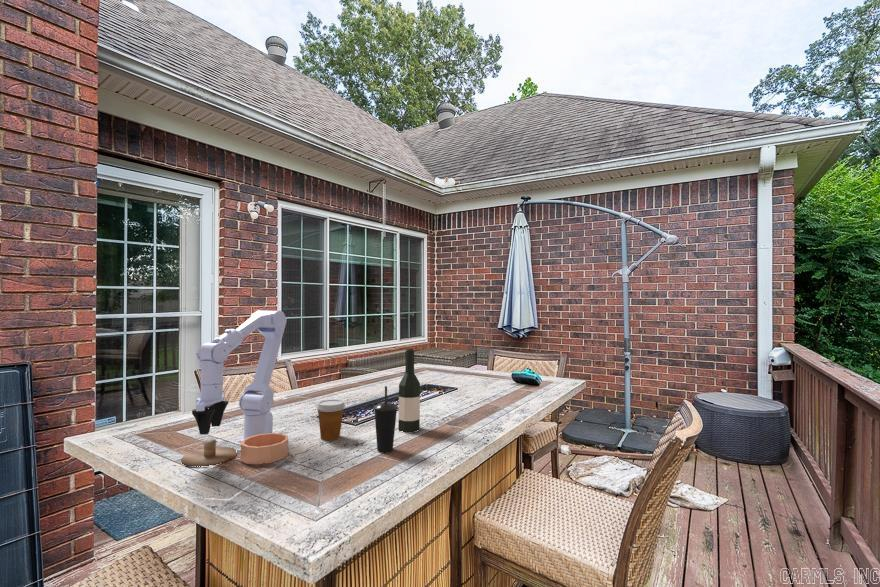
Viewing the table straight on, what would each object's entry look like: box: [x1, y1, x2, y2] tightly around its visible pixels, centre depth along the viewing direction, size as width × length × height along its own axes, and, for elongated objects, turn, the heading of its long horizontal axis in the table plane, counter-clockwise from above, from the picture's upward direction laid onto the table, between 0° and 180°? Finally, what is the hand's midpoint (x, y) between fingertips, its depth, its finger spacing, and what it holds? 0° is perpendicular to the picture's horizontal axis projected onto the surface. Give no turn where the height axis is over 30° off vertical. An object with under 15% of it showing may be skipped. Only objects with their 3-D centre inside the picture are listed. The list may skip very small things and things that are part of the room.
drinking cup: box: [373, 385, 399, 454], centre depth 125 cm, size 8×8×20 cm
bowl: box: [240, 432, 289, 465], centre depth 118 cm, size 13×13×5 cm
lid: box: [180, 438, 237, 468], centre depth 116 cm, size 14×14×5 cm
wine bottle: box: [397, 347, 421, 433], centre depth 147 cm, size 8×8×30 cm
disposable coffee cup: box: [316, 399, 346, 441], centre depth 137 cm, size 10×10×12 cm
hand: (210, 429), depth 117 cm, fingers open, 7 cm apart
